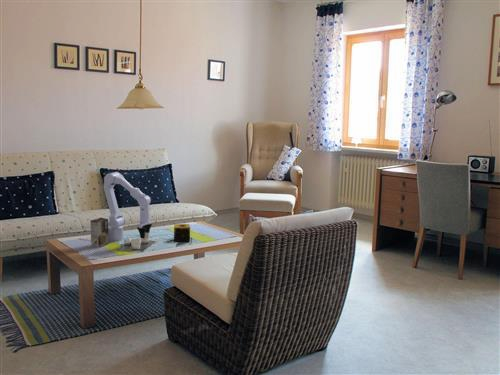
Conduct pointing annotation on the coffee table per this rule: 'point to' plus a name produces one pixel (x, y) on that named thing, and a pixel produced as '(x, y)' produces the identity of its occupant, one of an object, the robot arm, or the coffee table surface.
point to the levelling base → (128, 247)
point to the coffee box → (99, 232)
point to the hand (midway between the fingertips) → (144, 236)
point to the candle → (181, 233)
